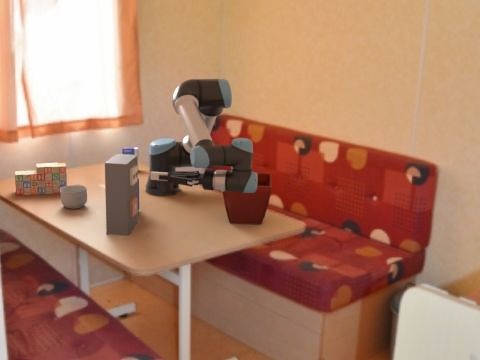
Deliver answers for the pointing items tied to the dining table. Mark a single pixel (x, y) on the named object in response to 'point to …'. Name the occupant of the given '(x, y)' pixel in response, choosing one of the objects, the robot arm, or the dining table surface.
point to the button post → (120, 194)
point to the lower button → (133, 206)
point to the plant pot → (249, 202)
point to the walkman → (130, 151)
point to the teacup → (74, 196)
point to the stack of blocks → (41, 179)
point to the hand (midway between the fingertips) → (151, 175)
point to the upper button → (133, 175)
